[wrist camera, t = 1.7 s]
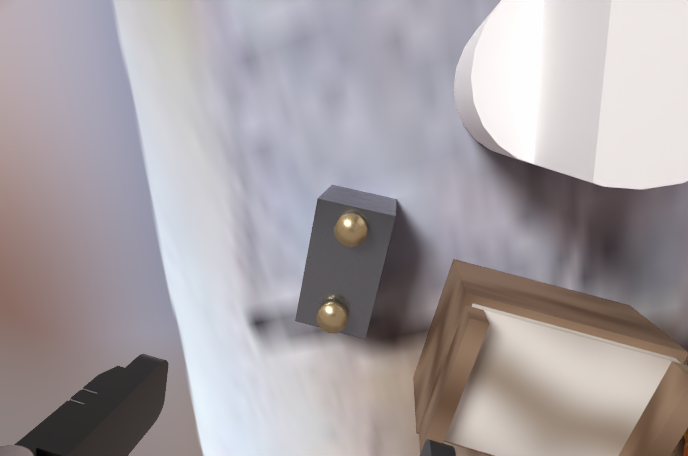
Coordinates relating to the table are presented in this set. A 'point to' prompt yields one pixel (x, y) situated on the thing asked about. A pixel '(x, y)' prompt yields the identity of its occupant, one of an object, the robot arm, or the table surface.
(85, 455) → the robot arm
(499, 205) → the table surface
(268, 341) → the table surface
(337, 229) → the block
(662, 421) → the stand
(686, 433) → the puzzle game
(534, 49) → the cylinder with rectangular tab
